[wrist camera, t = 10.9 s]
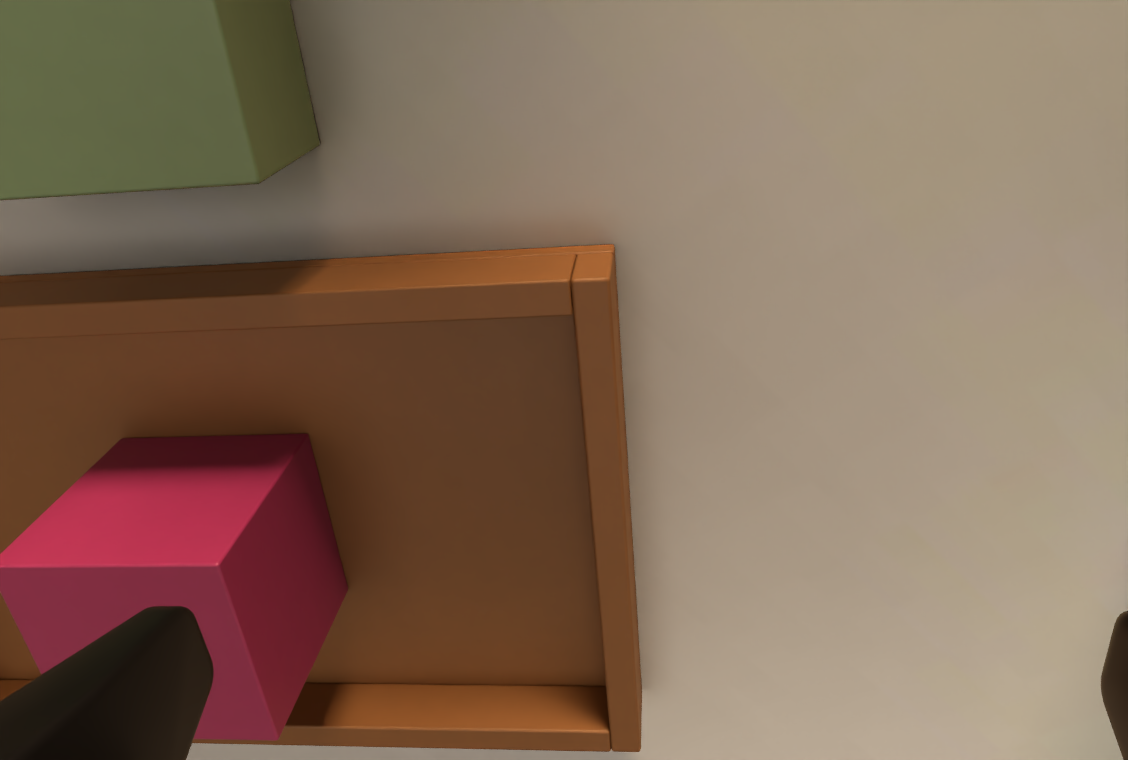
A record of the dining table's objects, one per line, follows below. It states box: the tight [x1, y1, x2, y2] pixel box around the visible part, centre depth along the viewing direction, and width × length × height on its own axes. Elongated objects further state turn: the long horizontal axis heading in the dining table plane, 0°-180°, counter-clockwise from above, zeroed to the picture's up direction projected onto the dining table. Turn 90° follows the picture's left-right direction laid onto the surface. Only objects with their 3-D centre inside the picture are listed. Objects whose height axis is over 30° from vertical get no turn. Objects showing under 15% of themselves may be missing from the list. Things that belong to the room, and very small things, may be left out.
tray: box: [0, 244, 642, 752], centre depth 22 cm, size 21×14×2 cm, turn 95°
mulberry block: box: [0, 434, 348, 741], centre depth 20 cm, size 5×5×5 cm
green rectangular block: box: [0, 0, 320, 200], centre depth 16 cm, size 6×6×3 cm
